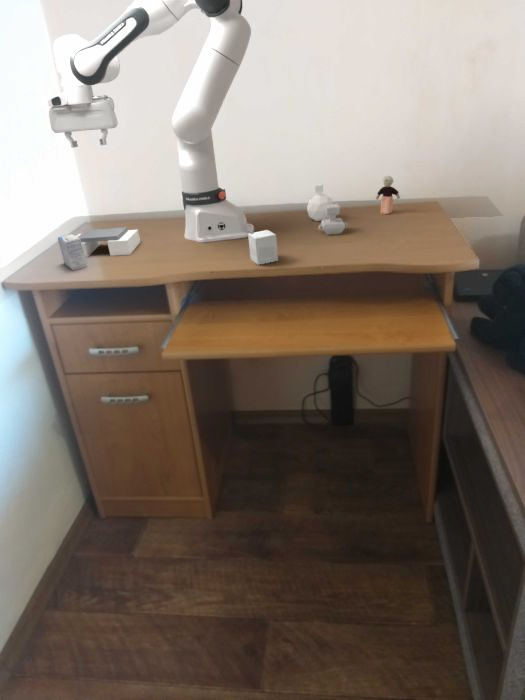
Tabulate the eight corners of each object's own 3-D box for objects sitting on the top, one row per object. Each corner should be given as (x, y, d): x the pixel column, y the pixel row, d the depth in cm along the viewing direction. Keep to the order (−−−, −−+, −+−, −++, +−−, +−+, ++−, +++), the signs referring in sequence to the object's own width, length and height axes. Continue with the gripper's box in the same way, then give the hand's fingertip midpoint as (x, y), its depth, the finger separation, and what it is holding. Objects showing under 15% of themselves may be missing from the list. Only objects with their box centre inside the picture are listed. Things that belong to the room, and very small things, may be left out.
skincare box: (278, 261, 141) (276, 234, 138) (257, 265, 140) (255, 238, 136) (270, 255, 146) (268, 229, 143) (249, 259, 145) (247, 233, 141)
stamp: (319, 237, 158) (318, 209, 154) (317, 232, 164) (316, 204, 160) (349, 235, 158) (349, 206, 154) (346, 229, 163) (345, 202, 160)
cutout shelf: (140, 245, 167) (137, 225, 164) (130, 256, 156) (126, 236, 153) (83, 248, 168) (78, 229, 165) (68, 260, 158) (63, 240, 155)
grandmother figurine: (375, 216, 174) (376, 177, 168) (375, 214, 177) (376, 175, 171) (399, 216, 172) (401, 176, 167) (398, 213, 176) (400, 173, 170)
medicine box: (88, 268, 150) (80, 238, 146) (72, 272, 148) (64, 241, 144) (79, 262, 156) (72, 233, 152) (64, 265, 154) (56, 236, 150)
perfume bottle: (308, 219, 179) (306, 182, 173) (335, 217, 177) (334, 181, 172) (306, 225, 171) (304, 188, 165) (334, 224, 170) (334, 186, 164)
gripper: (115, 94, 161) (124, 142, 168) (51, 99, 163) (62, 147, 169) (108, 95, 156) (118, 144, 162) (42, 100, 158) (54, 149, 164)
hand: (89, 146), depth 166 cm, fingers open, 8 cm apart
